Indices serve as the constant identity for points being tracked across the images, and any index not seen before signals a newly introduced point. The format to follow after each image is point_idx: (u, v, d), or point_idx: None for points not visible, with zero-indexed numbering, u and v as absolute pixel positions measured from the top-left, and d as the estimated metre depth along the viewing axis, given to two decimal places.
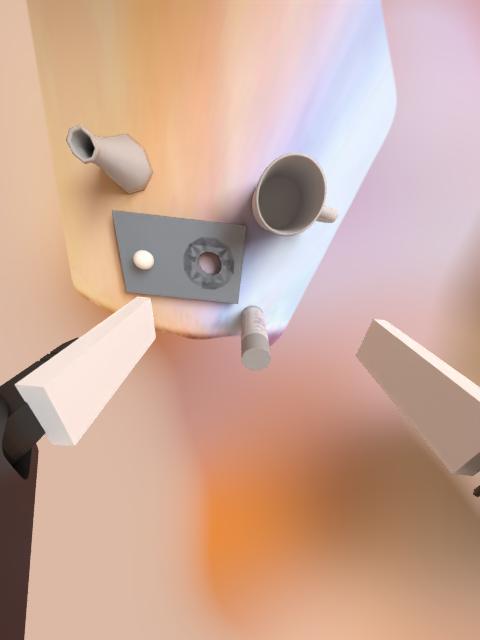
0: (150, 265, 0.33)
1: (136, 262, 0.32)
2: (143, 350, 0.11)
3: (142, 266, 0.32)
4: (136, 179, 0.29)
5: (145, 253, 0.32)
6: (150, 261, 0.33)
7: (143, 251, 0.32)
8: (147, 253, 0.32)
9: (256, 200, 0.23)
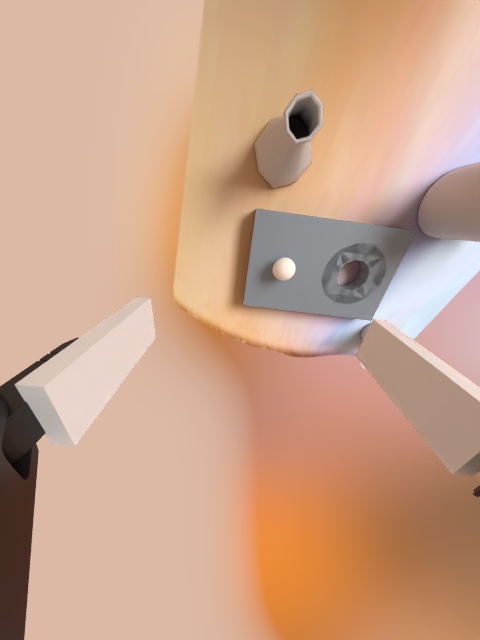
0: None
1: (281, 272, 0.26)
2: (143, 350, 0.11)
3: (285, 278, 0.27)
4: (299, 170, 0.23)
5: (292, 262, 0.26)
6: (294, 271, 0.27)
7: (289, 259, 0.26)
8: (292, 261, 0.26)
9: None
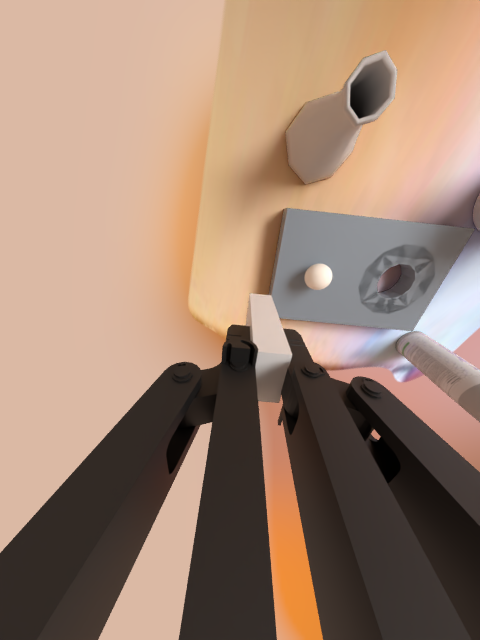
0: (328, 284, 0.24)
1: (317, 281, 0.22)
2: None
3: (321, 287, 0.23)
4: (340, 161, 0.20)
5: (329, 268, 0.23)
6: (331, 279, 0.23)
7: (325, 265, 0.23)
8: (329, 268, 0.23)
9: None
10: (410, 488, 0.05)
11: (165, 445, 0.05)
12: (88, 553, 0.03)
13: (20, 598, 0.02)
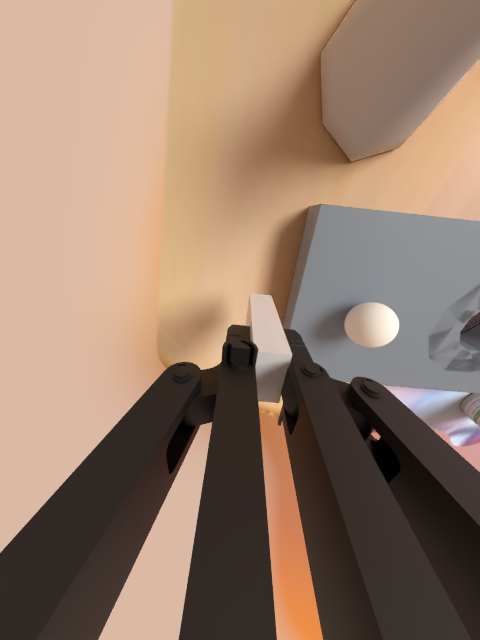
0: None
1: (374, 337, 0.12)
2: None
3: (378, 346, 0.13)
4: (434, 108, 0.10)
5: (395, 314, 0.12)
6: None
7: (387, 308, 0.13)
8: (393, 312, 0.13)
9: None
10: (410, 488, 0.05)
11: (165, 446, 0.05)
12: (88, 553, 0.03)
13: (20, 597, 0.02)
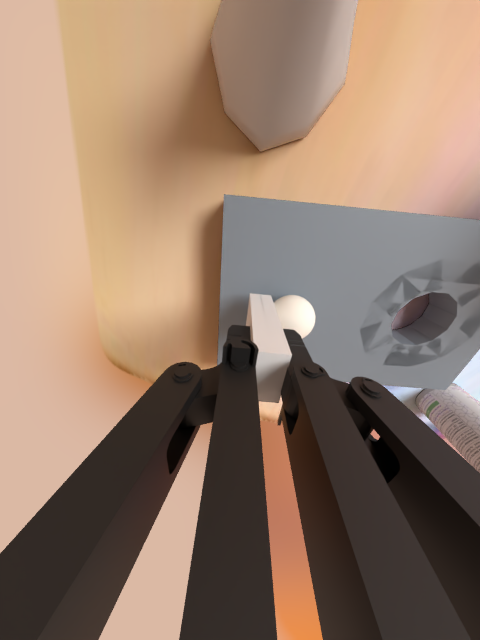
0: None
1: None
2: None
3: None
4: (319, 94, 0.10)
5: (309, 306, 0.12)
6: None
7: (301, 300, 0.12)
8: (309, 304, 0.13)
9: None
10: (410, 488, 0.05)
11: (166, 446, 0.05)
12: (89, 553, 0.03)
13: (22, 596, 0.02)
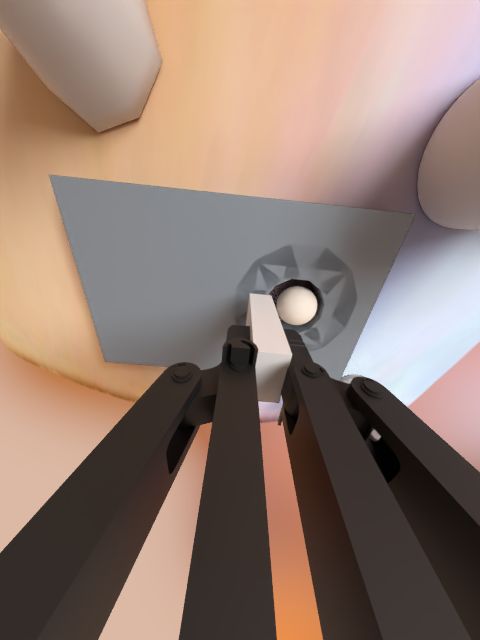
0: None
1: (311, 315, 0.15)
2: None
3: (309, 319, 0.16)
4: (112, 68, 0.09)
5: (311, 291, 0.15)
6: None
7: (306, 288, 0.15)
8: None
9: None
10: (410, 488, 0.05)
11: (165, 446, 0.05)
12: (88, 553, 0.03)
13: (21, 597, 0.02)
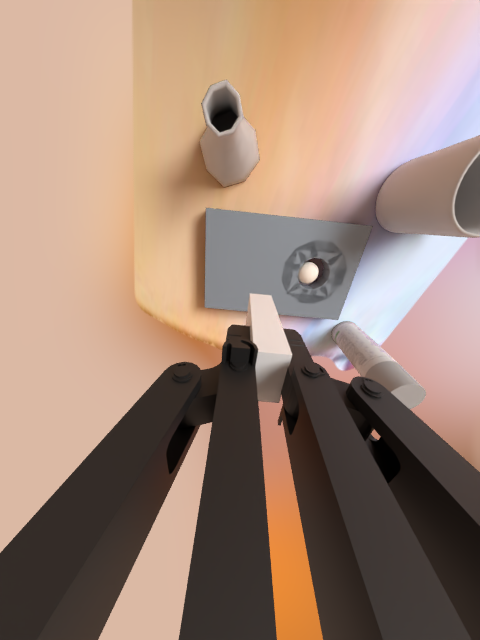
0: (315, 278, 0.29)
1: (308, 276, 0.28)
2: None
3: (311, 281, 0.28)
4: (244, 167, 0.23)
5: (315, 265, 0.28)
6: (317, 273, 0.29)
7: (312, 263, 0.28)
8: (315, 265, 0.28)
9: (455, 188, 0.16)
10: (410, 488, 0.05)
11: (165, 446, 0.05)
12: (88, 553, 0.03)
13: (20, 597, 0.02)
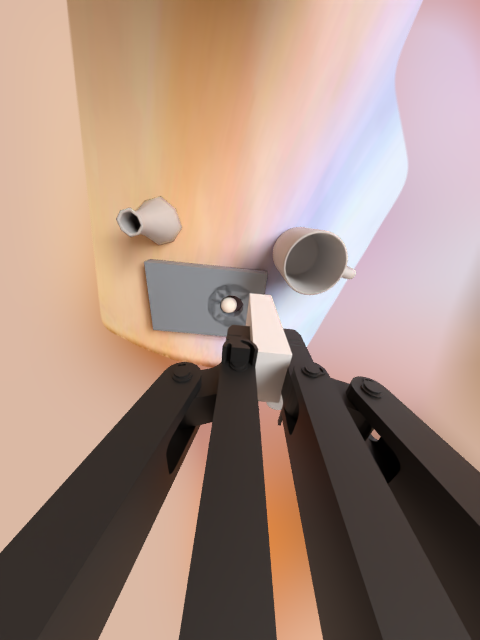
0: (235, 308, 0.38)
1: (227, 308, 0.37)
2: None
3: (230, 311, 0.38)
4: (168, 236, 0.32)
5: (233, 300, 0.37)
6: (236, 305, 0.38)
7: (230, 298, 0.37)
8: (233, 299, 0.38)
9: (284, 267, 0.26)
10: (410, 488, 0.05)
11: (165, 445, 0.05)
12: (88, 553, 0.03)
13: (20, 598, 0.02)
